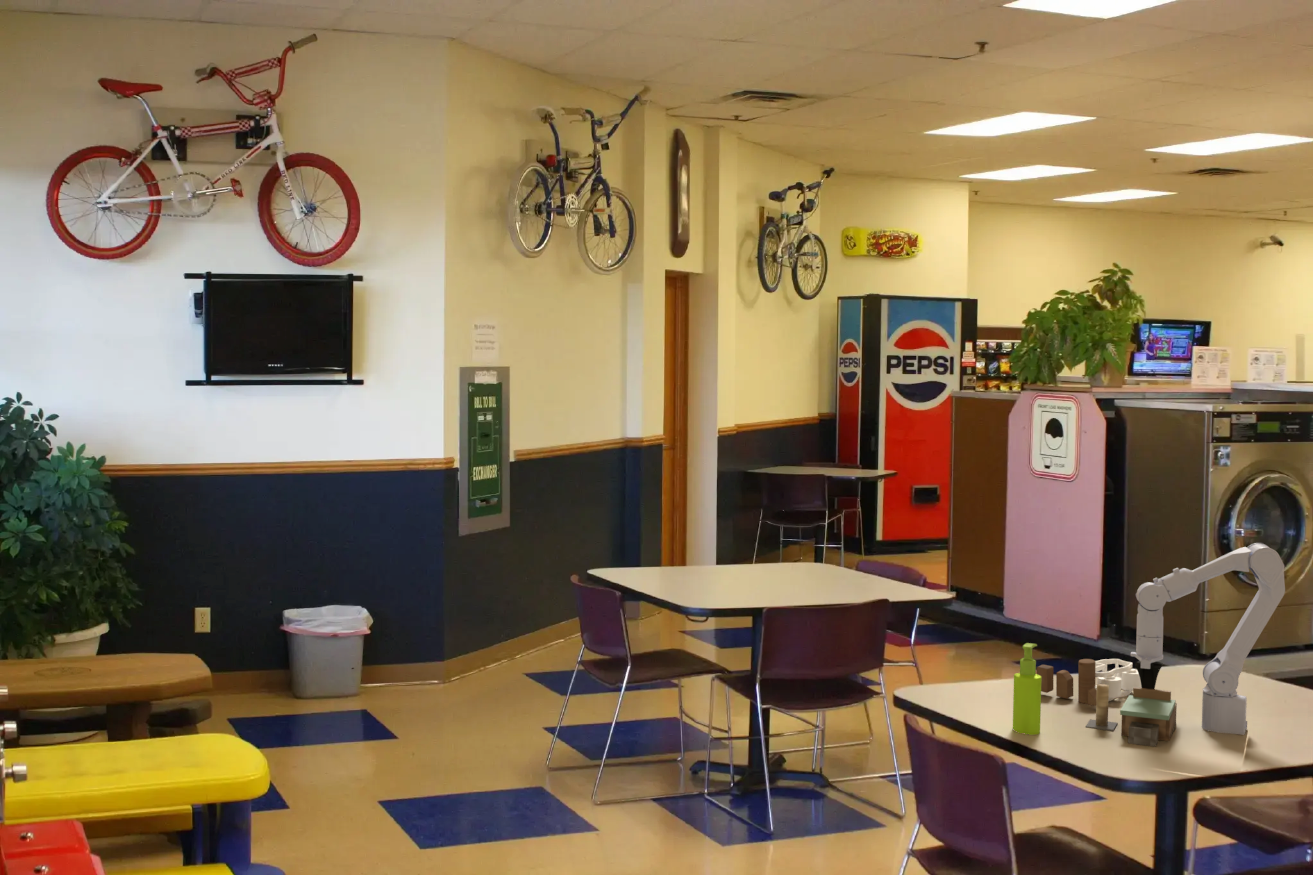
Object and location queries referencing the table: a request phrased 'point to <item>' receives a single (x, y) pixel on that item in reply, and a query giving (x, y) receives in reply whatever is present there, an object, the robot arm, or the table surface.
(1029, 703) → the soap dispenser
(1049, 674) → the wooden block set
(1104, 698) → the beige banded cylinder
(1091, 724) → the mat
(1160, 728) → the toolbox
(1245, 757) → the table surface
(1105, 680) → the wheeled car silhouette
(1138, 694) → the toolbox lid
